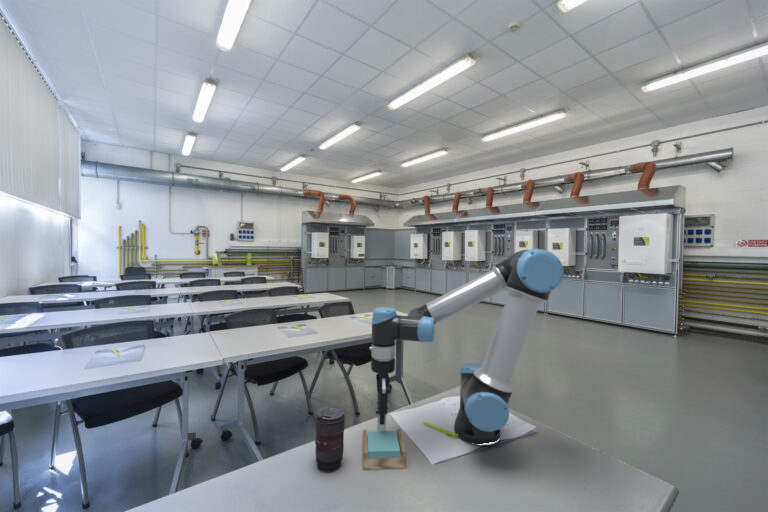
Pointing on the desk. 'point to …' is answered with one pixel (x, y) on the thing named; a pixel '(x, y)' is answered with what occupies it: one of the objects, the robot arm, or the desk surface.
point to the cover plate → (383, 445)
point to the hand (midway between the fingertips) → (381, 432)
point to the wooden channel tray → (384, 462)
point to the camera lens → (329, 438)
